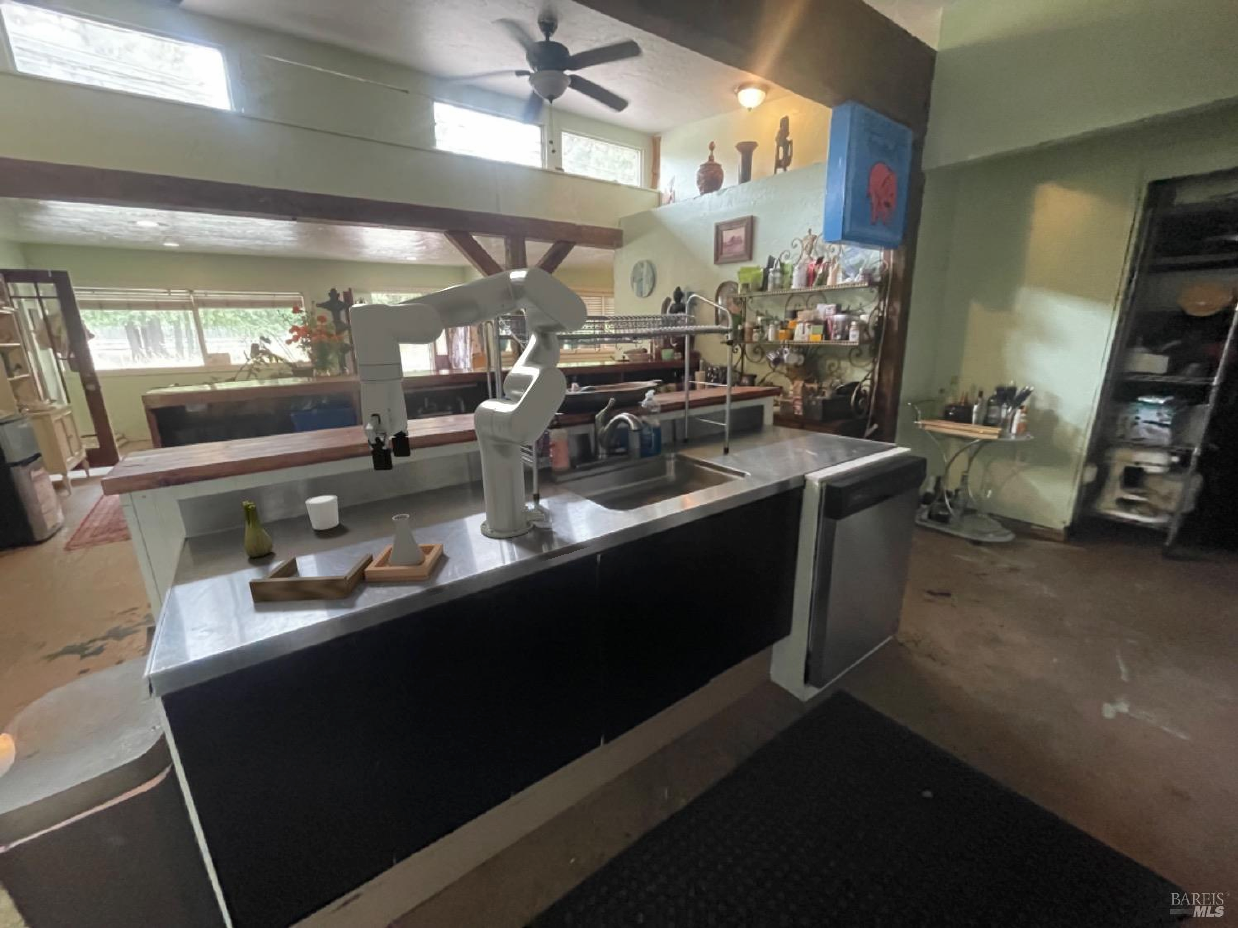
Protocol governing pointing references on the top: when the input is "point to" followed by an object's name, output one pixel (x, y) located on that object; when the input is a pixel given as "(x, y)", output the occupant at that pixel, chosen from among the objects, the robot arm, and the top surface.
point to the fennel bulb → (255, 533)
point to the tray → (382, 572)
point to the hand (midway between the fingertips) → (393, 462)
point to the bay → (306, 583)
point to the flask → (404, 545)
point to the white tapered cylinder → (323, 511)
